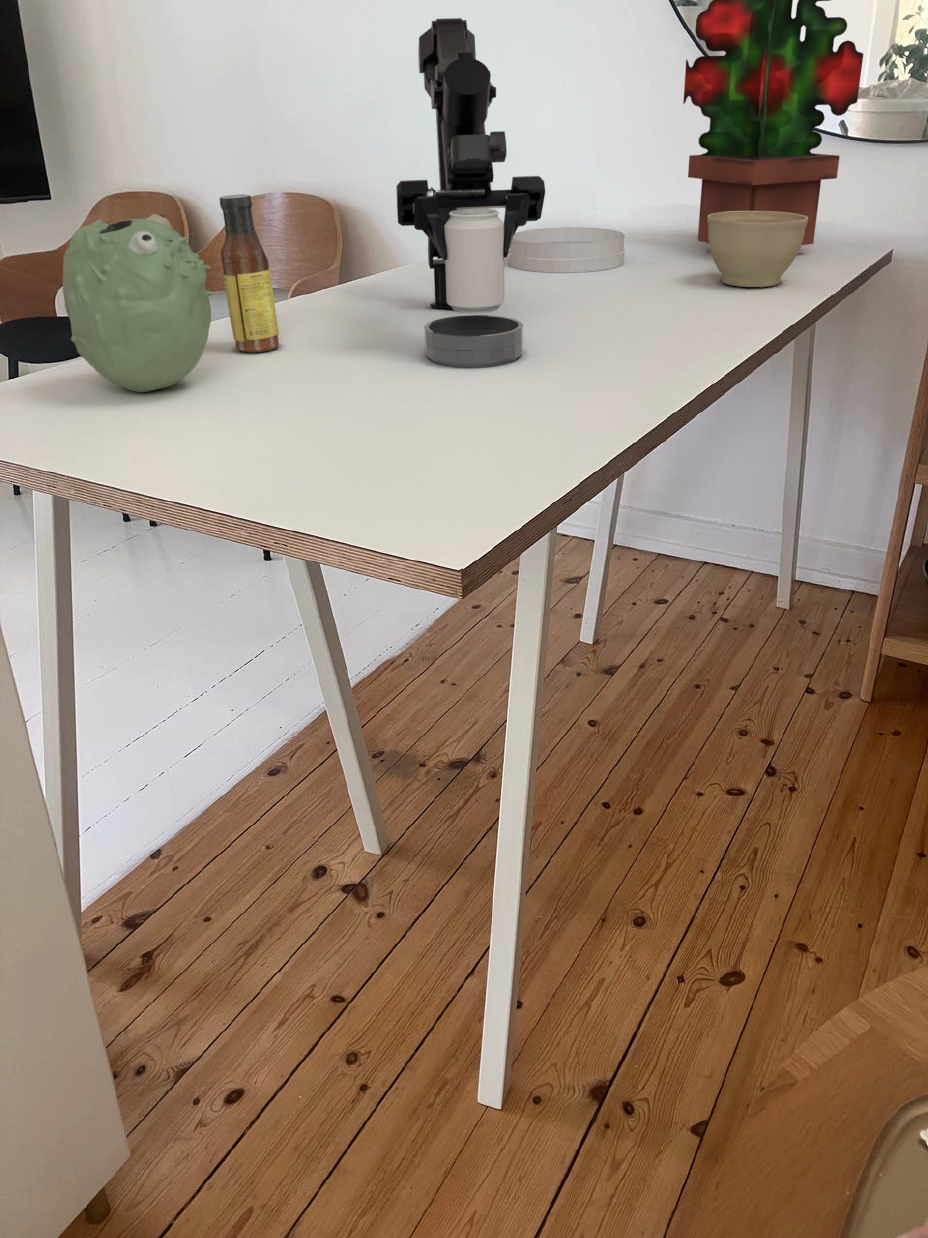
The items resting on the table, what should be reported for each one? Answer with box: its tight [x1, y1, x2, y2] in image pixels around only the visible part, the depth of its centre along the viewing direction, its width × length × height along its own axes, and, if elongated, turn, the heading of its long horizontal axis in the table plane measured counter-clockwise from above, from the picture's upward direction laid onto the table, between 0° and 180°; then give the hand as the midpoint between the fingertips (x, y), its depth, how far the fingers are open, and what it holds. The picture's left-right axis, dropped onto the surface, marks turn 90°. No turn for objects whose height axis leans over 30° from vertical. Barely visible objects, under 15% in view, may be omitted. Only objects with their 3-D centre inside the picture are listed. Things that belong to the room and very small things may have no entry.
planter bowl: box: [707, 211, 808, 288], centre depth 178 cm, size 16×16×11 cm
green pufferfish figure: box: [62, 213, 215, 393], centre depth 125 cm, size 16×19×20 cm
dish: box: [508, 226, 626, 274], centre depth 203 cm, size 22×22×5 cm
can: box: [444, 208, 505, 314], centre depth 135 cm, size 8×8×12 cm
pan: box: [423, 314, 524, 368], centre depth 139 cm, size 13×13×4 cm
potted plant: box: [682, 0, 864, 246], centre depth 198 cm, size 22×22×45 cm
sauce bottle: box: [219, 193, 280, 353], centre depth 142 cm, size 7×6×20 cm
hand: (475, 256), depth 133 cm, fingers closed on can, 7 cm apart
